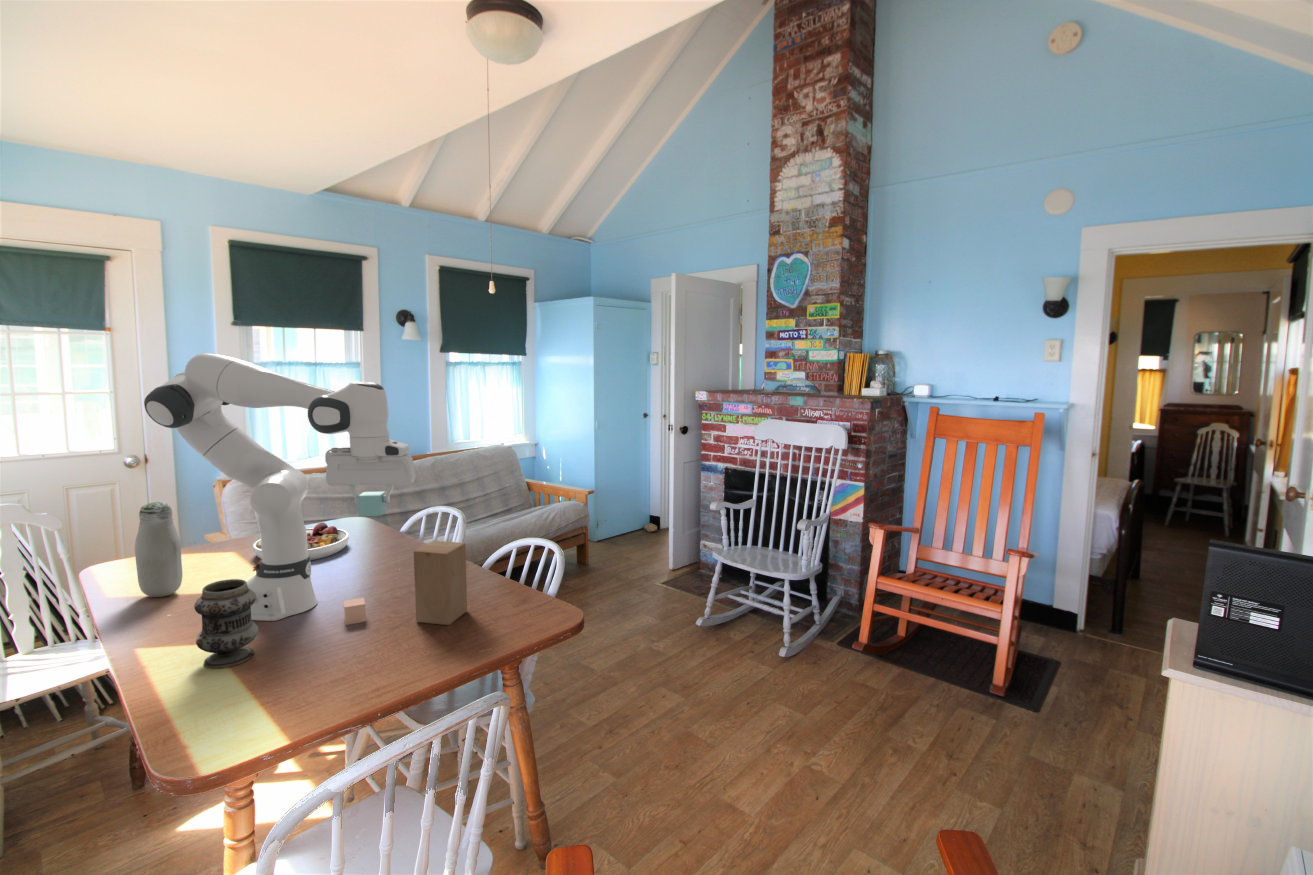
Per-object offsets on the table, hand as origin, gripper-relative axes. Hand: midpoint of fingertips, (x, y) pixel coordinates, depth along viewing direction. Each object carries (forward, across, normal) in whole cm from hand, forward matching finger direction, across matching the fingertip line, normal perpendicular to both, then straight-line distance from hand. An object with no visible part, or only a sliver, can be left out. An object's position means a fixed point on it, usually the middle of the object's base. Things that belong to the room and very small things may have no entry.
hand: (372, 502), depth 153 cm
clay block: (+35, -9, +11) cm, 38 cm away
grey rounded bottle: (+35, -70, +36) cm, 86 cm away
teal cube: (+3, 0, 0) cm, 3 cm away
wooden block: (+35, +14, +10) cm, 39 cm away
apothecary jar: (+35, -31, -8) cm, 48 cm away
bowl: (+36, -46, +75) cm, 95 cm away
